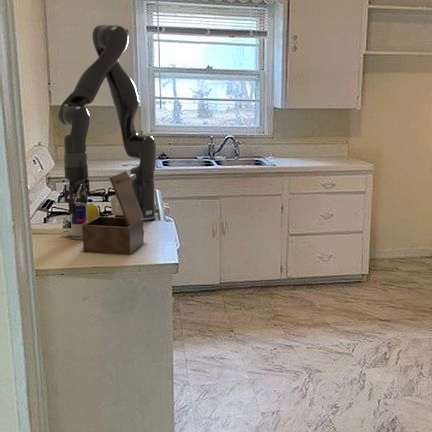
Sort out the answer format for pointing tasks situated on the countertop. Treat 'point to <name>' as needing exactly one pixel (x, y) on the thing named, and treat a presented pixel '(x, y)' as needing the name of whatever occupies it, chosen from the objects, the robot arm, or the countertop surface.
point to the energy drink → (78, 220)
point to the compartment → (112, 235)
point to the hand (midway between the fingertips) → (78, 211)
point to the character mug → (116, 207)
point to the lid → (127, 197)
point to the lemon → (92, 212)
